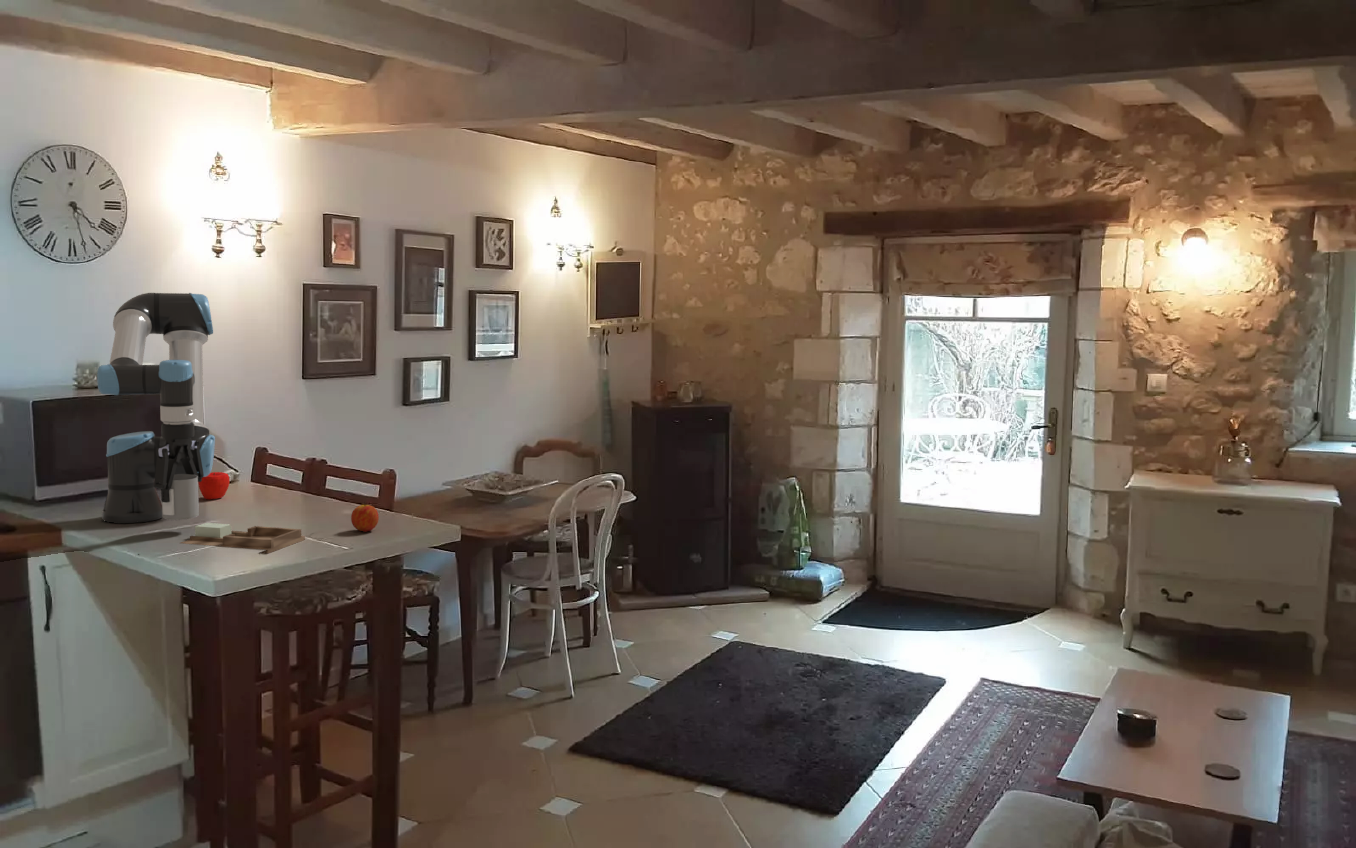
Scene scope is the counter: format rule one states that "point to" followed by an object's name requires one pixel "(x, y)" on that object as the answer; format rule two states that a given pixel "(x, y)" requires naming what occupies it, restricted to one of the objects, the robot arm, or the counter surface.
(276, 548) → the jig
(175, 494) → the cup
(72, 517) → the counter surface
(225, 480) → the apple
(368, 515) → the fruit
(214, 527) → the pale green block
